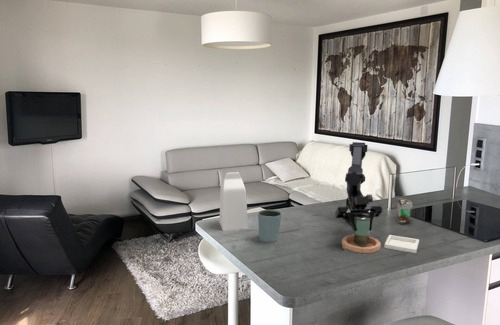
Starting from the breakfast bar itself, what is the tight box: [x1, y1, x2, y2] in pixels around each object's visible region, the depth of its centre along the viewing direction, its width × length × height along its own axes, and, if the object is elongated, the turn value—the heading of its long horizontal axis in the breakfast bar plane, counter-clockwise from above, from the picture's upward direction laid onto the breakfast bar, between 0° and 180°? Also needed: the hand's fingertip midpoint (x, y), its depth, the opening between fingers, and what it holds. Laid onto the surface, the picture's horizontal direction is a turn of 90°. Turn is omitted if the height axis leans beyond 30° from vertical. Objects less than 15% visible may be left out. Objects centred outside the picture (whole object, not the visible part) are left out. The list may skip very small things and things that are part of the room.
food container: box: [396, 197, 414, 225], centre depth 197 cm, size 12×6×10 cm, turn 168°
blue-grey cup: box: [257, 209, 282, 244], centre depth 173 cm, size 10×10×12 cm
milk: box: [219, 171, 249, 232], centre depth 189 cm, size 12×12×26 cm
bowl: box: [341, 234, 382, 254], centre depth 165 cm, size 15×15×3 cm
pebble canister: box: [353, 214, 370, 245], centre depth 163 cm, size 6×6×11 cm
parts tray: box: [384, 234, 420, 254], centre depth 165 cm, size 12×12×2 cm
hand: (363, 230), depth 162 cm, fingers closed on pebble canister, 6 cm apart
